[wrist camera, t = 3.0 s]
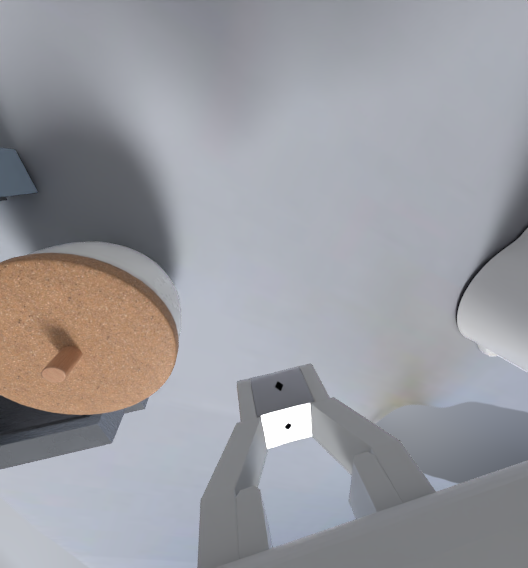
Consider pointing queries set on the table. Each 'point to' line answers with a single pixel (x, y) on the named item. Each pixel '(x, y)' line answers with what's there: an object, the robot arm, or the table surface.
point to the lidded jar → (86, 328)
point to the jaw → (13, 175)
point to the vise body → (52, 432)
